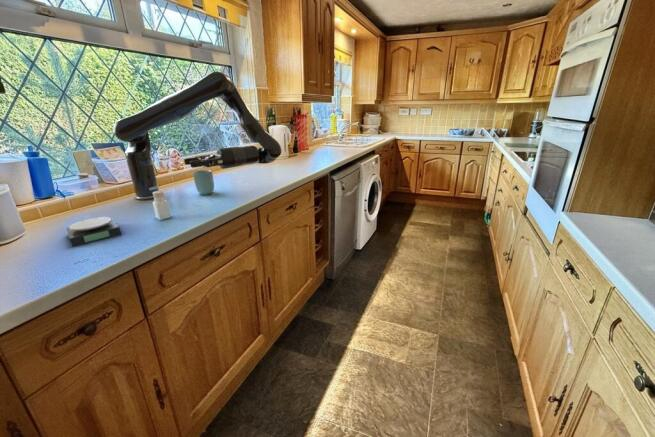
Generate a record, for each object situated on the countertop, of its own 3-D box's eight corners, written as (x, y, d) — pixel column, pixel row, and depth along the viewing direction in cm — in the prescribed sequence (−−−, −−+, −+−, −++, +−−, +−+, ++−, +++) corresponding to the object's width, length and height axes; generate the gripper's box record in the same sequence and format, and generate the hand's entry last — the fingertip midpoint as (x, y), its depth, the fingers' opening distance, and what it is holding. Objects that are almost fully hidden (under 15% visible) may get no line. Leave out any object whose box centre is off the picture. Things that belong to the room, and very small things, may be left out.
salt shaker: (160, 220, 104) (153, 194, 100) (155, 218, 106) (149, 192, 103) (172, 217, 106) (166, 191, 103) (167, 215, 109) (161, 189, 106)
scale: (68, 235, 94) (64, 223, 93) (113, 224, 102) (110, 213, 100) (72, 247, 85) (67, 234, 84) (121, 234, 93) (118, 222, 92)
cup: (209, 196, 132) (205, 173, 128) (193, 195, 133) (189, 173, 130) (218, 191, 139) (215, 169, 135) (203, 191, 140) (199, 169, 137)
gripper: (224, 146, 119) (180, 150, 110) (237, 148, 109) (190, 154, 100) (227, 164, 122) (184, 171, 113) (240, 169, 111) (194, 176, 102)
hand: (187, 163), depth 106 cm, fingers open, 8 cm apart
